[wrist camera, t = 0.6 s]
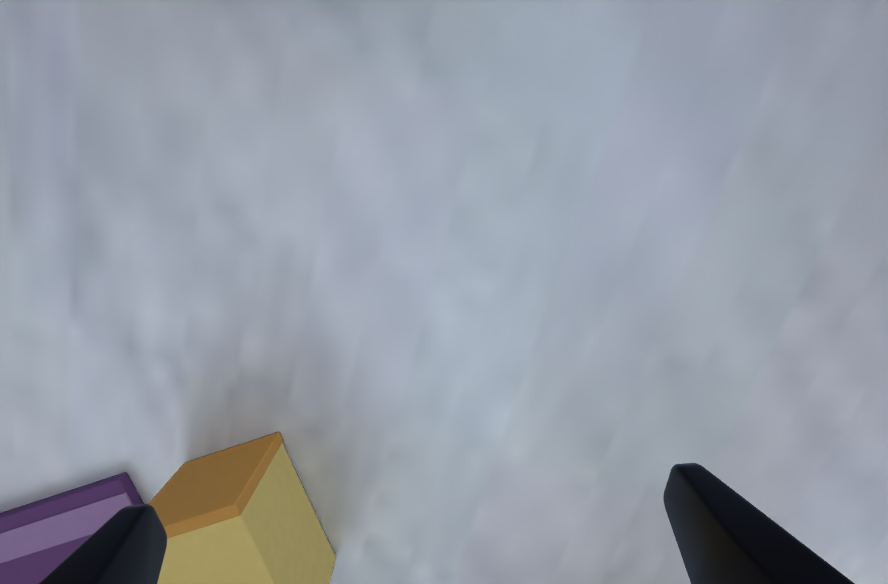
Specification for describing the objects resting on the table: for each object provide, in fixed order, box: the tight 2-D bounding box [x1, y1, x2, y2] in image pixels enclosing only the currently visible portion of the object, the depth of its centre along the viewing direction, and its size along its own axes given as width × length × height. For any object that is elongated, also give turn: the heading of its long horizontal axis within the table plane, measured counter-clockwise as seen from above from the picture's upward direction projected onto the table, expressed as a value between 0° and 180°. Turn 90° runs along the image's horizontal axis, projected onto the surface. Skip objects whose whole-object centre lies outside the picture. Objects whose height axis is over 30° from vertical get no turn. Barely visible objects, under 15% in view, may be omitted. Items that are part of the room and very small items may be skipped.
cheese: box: [149, 432, 336, 584], centre depth 21 cm, size 7×5×5 cm, turn 19°
